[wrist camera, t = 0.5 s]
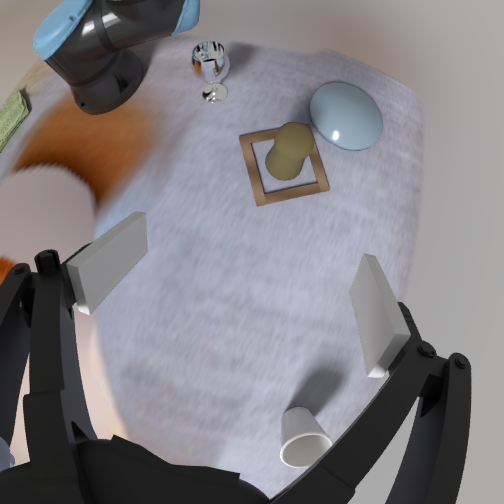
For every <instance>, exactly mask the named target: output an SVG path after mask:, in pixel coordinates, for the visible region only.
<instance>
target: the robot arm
mask: <svg viewBox="0 0 504 504" xmlns="http://www.w3.org/2000/svg"><path fill="white" fill-rule="evenodd" d="M199 12H200V0H65V1H64V2H62V3H61V4H60V5H58V6H57V7H56V8H55V9H54V10H53V11H52V12H51V13H50V14H49V15H48V16H47V17H46V18H45V19H44V21H43V22H42V23H41V25H40V26H39V28H38V29H37V31H36V33H35V36H34V38H33V47H34V49H35V50H36V52H37V53H38V54H39V56H40V57H41V59H42V60H44V61H45V62H46V63H47V64H48V65H49V66H50V67H51V68H52V69H53V70H54V71H55V72H57V73H58V74H59V75H60V76H61V77H62V78H63V79H64V80H65V81H66V82H67V83H68V84H69V85H70V88H71V91H72V94H73V97H74V100H75V102H76V104H77V106H78V107H79V108H80V109H82V110H83V111H84V112H85V113H88V114H92V115H98V114H103V113H106V112H109V111H111V110H113V109H115V108H117V107H118V106H120V105H121V104H123V103H124V102H125V101H126V100H128V99H129V98H130V97H131V96H132V94H133V93H134V92H135V91H136V89H137V88H138V86H139V84H140V82H141V80H142V77H143V66H142V64H141V62H140V60H139V58H138V57H137V56H136V55H135V54H134V53H132V52H131V51H129V50H128V49H126V48H127V47H130V46H134V45H137V44H140V43H144V42H147V41H151V40H154V39H158V38H162V37H166V36H172V35H175V34H176V33H180V32H184V31H188V30H190V29H192V28H194V27H195V26H196V25H197V23H198V20H199ZM147 252H148V249H147V224H146V213H144V212H138V211H135V212H134V213H132V214H131V215H130V216H128V217H127V218H125V219H124V220H122V221H121V222H120V223H118V224H117V225H115V226H114V227H113V228H111V229H110V230H109V231H107V232H106V233H105V234H103V235H102V236H101V237H99V238H98V239H97V240H95V241H94V242H92V243H89V244H87V245H85V246H83V247H82V248H81V249H79V251H77V252H76V253H75V254H74V255H72V256H71V257H69V258H68V259H67V260H66V261H64V262H63V263H62V264H60V260H59V256H58V252H57V251H56V250H52V249H51V250H45V251H42V252H40V253H38V254H37V255H36V256H35V258H34V260H35V263H36V267H37V271H38V273H35V272H31V270H30V267H29V265H28V264H27V263H19V264H17V265H15V266H14V267H12V269H11V270H10V271H9V273H8V274H7V276H6V277H5V279H4V281H3V282H2V284H1V286H0V504H347V503H348V502H349V501H350V499H351V498H352V497H353V496H354V494H355V488H356V486H357V485H358V484H359V483H360V481H361V480H362V479H363V478H364V477H365V475H366V474H367V473H368V472H369V470H370V469H371V468H372V467H373V465H374V464H375V463H376V461H377V460H378V459H379V457H380V456H381V455H382V453H383V452H384V450H385V449H386V447H387V446H388V445H389V443H390V441H391V440H392V439H393V437H394V436H395V434H396V433H397V431H398V429H399V428H400V426H401V425H402V423H403V421H404V420H405V418H406V416H407V415H408V413H409V411H410V410H411V408H412V406H413V404H414V402H415V400H416V398H417V397H420V398H419V403H418V407H417V411H416V416H415V420H414V423H413V427H412V431H411V434H410V438H409V441H408V445H407V448H406V451H405V454H404V457H403V460H402V463H401V466H400V469H399V471H398V474H397V477H396V479H395V482H394V484H393V487H392V489H391V491H390V494H389V496H388V499H387V501H386V503H385V504H455V503H456V500H457V496H458V492H459V488H460V484H461V480H462V475H463V470H464V464H465V458H466V452H467V445H468V437H469V428H470V414H471V365H470V362H469V361H468V359H467V358H466V357H465V356H464V355H462V354H460V353H453V354H452V355H451V356H450V357H449V358H448V359H445V358H442V357H439V356H437V354H436V351H435V349H434V348H433V347H432V345H430V344H429V343H428V342H425V341H422V339H421V336H420V334H419V332H418V329H417V327H416V325H415V323H414V320H413V318H412V316H411V313H410V311H409V309H408V308H407V307H406V306H405V305H404V304H403V303H402V302H397V301H396V298H395V296H394V294H393V292H392V289H391V287H390V285H389V283H388V281H387V279H386V277H385V275H384V272H383V270H382V268H381V266H380V264H379V262H378V260H377V258H376V256H374V255H369V254H365V253H364V254H363V257H362V259H361V262H360V265H359V268H358V270H357V273H356V276H355V278H354V281H353V284H352V286H351V289H350V291H349V292H350V296H351V300H352V305H353V309H354V313H355V317H356V322H357V326H358V331H359V335H360V340H361V345H362V350H363V355H364V360H365V366H366V371H367V377H380V378H382V377H383V375H384V374H385V373H386V371H387V370H388V371H389V375H390V377H389V378H388V379H387V380H386V382H385V383H384V384H383V386H382V387H381V388H380V389H379V391H378V393H377V394H376V395H375V397H374V398H373V399H372V400H371V402H370V403H369V404H368V405H367V407H366V408H365V409H364V410H363V412H362V413H361V414H360V415H359V416H358V417H357V419H356V420H355V421H354V422H353V423H352V424H351V426H350V427H349V428H348V429H347V430H346V431H345V432H344V433H343V434H342V436H341V437H340V438H339V439H338V440H337V441H336V442H335V443H334V444H333V445H332V446H331V447H330V448H329V449H328V450H327V451H326V452H325V453H324V454H323V455H322V456H321V457H320V458H319V459H318V460H317V461H316V462H315V463H314V464H313V465H312V466H310V467H309V468H308V469H307V470H306V471H305V472H304V473H303V474H302V475H300V476H299V477H298V478H297V479H296V480H295V481H293V482H292V483H291V484H290V485H288V486H287V487H286V488H284V489H283V490H282V491H281V492H279V493H278V494H277V495H275V496H274V497H273V498H271V499H269V498H268V497H267V496H266V495H265V494H264V493H263V492H261V491H260V490H259V489H258V488H256V487H255V486H253V485H251V484H250V483H248V482H246V481H244V480H241V479H239V476H240V473H236V472H230V471H225V470H220V469H216V468H211V467H207V466H185V465H173V464H170V463H168V462H166V461H164V460H163V459H161V458H159V457H158V456H156V455H154V454H153V453H151V452H150V451H148V450H147V449H145V448H144V447H142V446H140V445H138V444H135V443H133V442H130V441H128V440H125V439H123V438H121V437H119V436H116V435H113V437H112V439H111V440H107V439H98V438H97V436H96V434H95V432H94V430H93V427H92V425H91V421H90V417H89V413H88V409H87V405H86V400H85V395H84V390H83V385H82V380H81V374H80V367H79V360H78V353H77V344H76V335H75V323H74V311H73V308H72V306H73V305H74V303H75V302H77V306H78V309H79V311H81V312H83V313H86V314H88V315H91V314H92V313H93V312H94V310H95V309H96V308H97V307H98V306H99V305H100V303H101V302H102V301H103V300H104V299H105V298H106V297H107V296H108V294H109V293H110V292H111V291H112V290H113V289H114V288H115V287H116V285H117V284H118V283H119V282H120V281H121V280H122V279H123V278H124V277H125V276H126V275H127V273H128V272H129V271H130V270H131V269H132V268H133V267H134V266H135V265H136V264H137V263H138V262H139V261H140V260H141V259H142V258H143V257H144V255H145V254H146V253H147ZM20 305H21V307H20ZM29 352H30V355H29ZM28 355H29V382H30V393H29V394H26V395H24V397H23V413H24V423H25V432H26V440H27V446H28V452H29V458H30V462H27V463H24V464H21V465H18V466H14V464H15V459H14V456H13V455H12V454H11V453H10V449H9V448H10V444H11V441H12V437H13V432H14V426H15V419H16V411H17V405H18V398H19V394H20V388H21V384H22V379H23V375H24V371H25V367H26V363H27V359H28ZM13 466H14V467H13ZM10 467H11V468H10Z"/></svg>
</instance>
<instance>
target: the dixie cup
mask: <svg viewBox="0 0 504 504" xmlns="http://www.w3.org/2000/svg"><path fill="white" fill-rule="evenodd" d="M332 445H333V441H332V439H331V438H330V436H328V435H327V434H326V433H325V432H324V430H323V429H322V428H321V426H320V425H319V423H318V422H317V421H316V419H315V418H314V417H313V415H312V414H311V413H310V411H309V410H308V409H306V408H304V407H294V408H291V409H289V410H287V411H286V412H285V413H284V414H283V415H282V417H281V450H280V458H281V460H282V461H283V462H284V463H285V464H286V465H288V466H291V467H295V468H305V467H310V466H312V465H313V464H314V463H315V462H316V461H317V460H318V459H319V458H320V457H321V456H322V455H323V454H324V453H325V452H326V451H327V450H328V449H329V448H330V447H331V446H332Z"/></svg>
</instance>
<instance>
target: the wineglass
mask: <svg viewBox="0 0 504 504" xmlns="http://www.w3.org/2000/svg"><path fill="white" fill-rule="evenodd" d="M229 67H230V61H229V56H228V54H227V51H226V49H225V48H224V46H223V45H222V44H221V43H219V42H216V41H206V42H202V43H200V44H198V45H197V46H196V47H195V48H194V49H193V51H192V55H191V69H192V72H193V74H194V76H195V77H196V78H197V79H198V80H200V81H202V82H206V83H212V84H210V85H208V86H207V87H206V88H205V89H204V90H203V93H202V95H203V98H204V100H206V101H207V102H209V103H218V102H221V101H222V100H224V99H225V98H226V96H227V93H228V91H227V89H226V87H225V86H224V85H222V84H218V83H215V82H217V81H219V80H221V79H223V78H224V77H225V76H226V75H227V73H228V71H229Z"/></svg>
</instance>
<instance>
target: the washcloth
mask: <svg viewBox="0 0 504 504" xmlns="http://www.w3.org/2000/svg"><path fill="white" fill-rule="evenodd" d="M28 113H29V111H28V109H27V106H26V101H25V99H24V98H23V96H22V94H21V91H20V90H18V91H17V92H15V93H14V94H13V95H12V96H11V97H10V98H9V99H8V100H7V102H6V103H5V104H4V106H3V107H2V108H1V110H0V153H1V151H2V150H3V148H4V146H5V145H6V144H7V142H8V141H9V139H10V137H11V136H12V134H13V133H14V132H15V130H16V129H17V127H18V126H19V125H20V123H21V122H22V121H23V120H24V119H25V117H26V116H27V115H28Z"/></svg>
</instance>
